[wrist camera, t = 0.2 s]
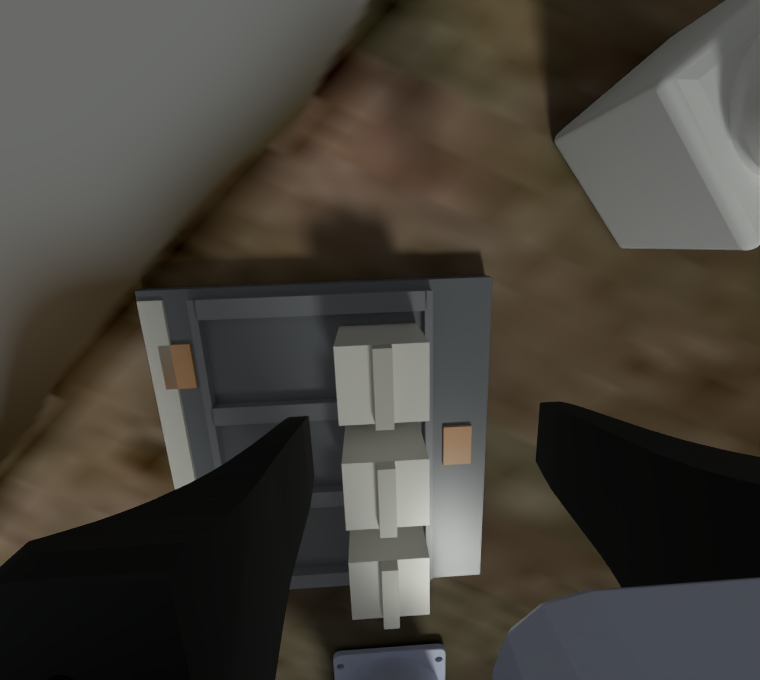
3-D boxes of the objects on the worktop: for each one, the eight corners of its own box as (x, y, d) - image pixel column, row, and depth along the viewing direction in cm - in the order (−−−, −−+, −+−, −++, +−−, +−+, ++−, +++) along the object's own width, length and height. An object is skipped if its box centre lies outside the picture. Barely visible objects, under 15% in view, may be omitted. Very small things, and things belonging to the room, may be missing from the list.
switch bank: (474, 558, 25) (482, 582, 23) (204, 576, 24) (192, 602, 22) (485, 275, 20) (496, 278, 18) (148, 288, 19) (127, 292, 18)
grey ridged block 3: (418, 551, 23) (431, 626, 18) (354, 556, 23) (351, 631, 18) (417, 502, 22) (431, 568, 17) (350, 506, 22) (347, 573, 17)
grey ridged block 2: (417, 474, 21) (431, 534, 17) (349, 478, 21) (345, 540, 17) (416, 418, 20) (431, 466, 16) (345, 422, 20) (340, 472, 16)
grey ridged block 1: (416, 387, 20) (432, 427, 16) (343, 390, 20) (337, 432, 15) (415, 322, 19) (432, 346, 15) (339, 325, 19) (332, 350, 14)
